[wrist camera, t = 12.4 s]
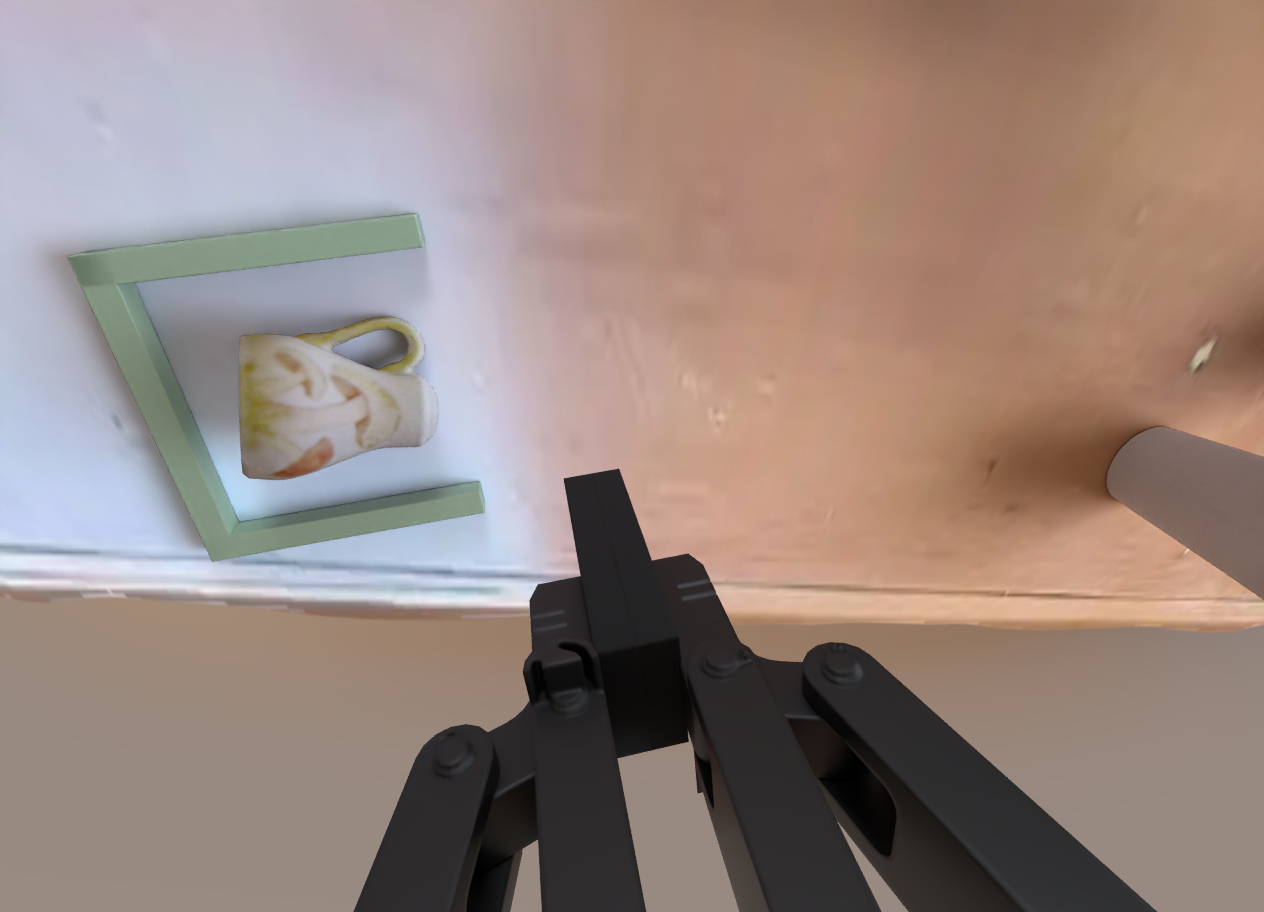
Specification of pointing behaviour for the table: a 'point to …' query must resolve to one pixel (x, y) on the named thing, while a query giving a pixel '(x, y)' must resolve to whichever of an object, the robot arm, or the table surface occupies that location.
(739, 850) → the robot arm
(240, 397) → the mug
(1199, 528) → the coffee cup
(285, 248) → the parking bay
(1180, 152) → the table surface
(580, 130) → the table surface
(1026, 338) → the table surface
